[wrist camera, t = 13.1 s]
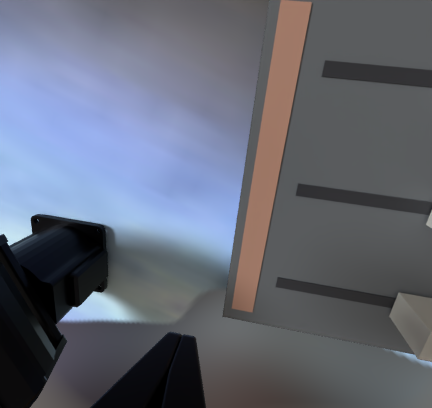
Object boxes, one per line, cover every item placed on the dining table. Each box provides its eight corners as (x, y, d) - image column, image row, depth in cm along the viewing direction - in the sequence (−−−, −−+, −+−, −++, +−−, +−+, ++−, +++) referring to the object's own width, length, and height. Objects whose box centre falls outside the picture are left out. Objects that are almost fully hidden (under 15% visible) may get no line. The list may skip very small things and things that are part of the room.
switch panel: (225, 300, 23) (222, 317, 21) (270, -6, 16) (272, -24, 14) (450, 342, 21) (470, 366, 19) (617, 17, 14) (678, 0, 12)
